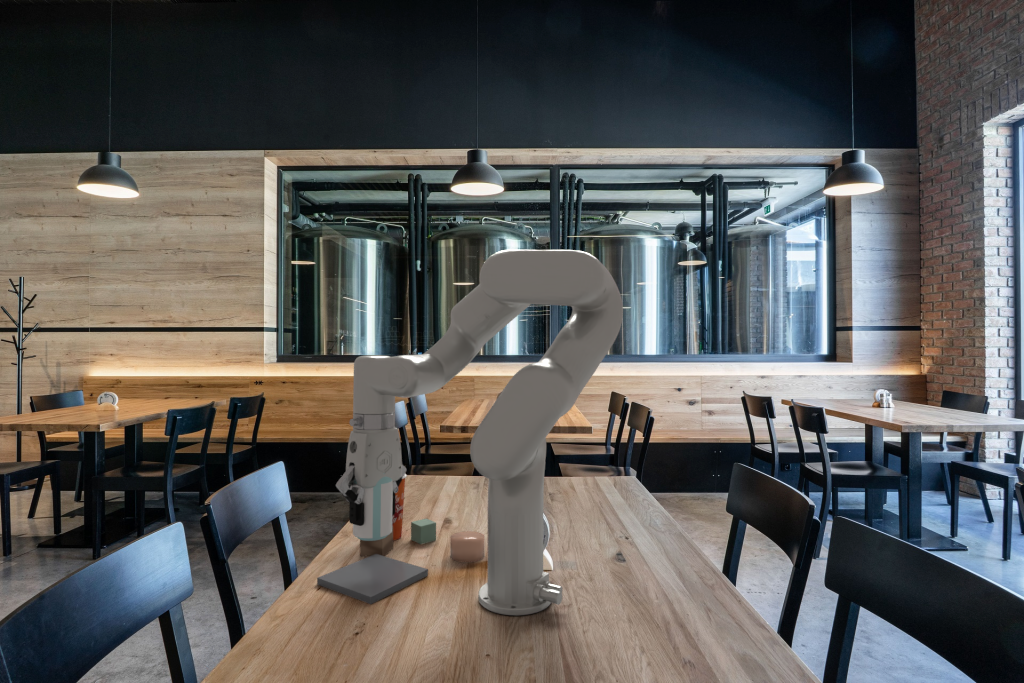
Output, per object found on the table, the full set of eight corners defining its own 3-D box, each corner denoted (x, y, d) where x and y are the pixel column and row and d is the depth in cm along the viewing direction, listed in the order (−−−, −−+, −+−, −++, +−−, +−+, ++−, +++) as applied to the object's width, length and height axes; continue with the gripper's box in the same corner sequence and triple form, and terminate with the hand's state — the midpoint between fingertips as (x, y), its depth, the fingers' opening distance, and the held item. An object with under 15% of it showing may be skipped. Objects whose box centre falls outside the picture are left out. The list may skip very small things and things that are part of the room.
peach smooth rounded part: (491, 554, 115) (491, 535, 115) (470, 565, 109) (470, 545, 109) (464, 547, 119) (464, 529, 119) (443, 558, 113) (443, 538, 113)
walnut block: (393, 549, 118) (393, 525, 118) (382, 558, 113) (382, 533, 113) (371, 547, 119) (371, 524, 119) (360, 556, 114) (360, 531, 114)
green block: (436, 540, 123) (436, 522, 123) (420, 544, 120) (420, 526, 120) (426, 536, 126) (426, 518, 126) (411, 539, 123) (411, 522, 123)
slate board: (427, 575, 104) (427, 569, 104) (370, 604, 92) (370, 597, 92) (375, 559, 112) (375, 553, 112) (317, 584, 100) (317, 577, 100)
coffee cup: (397, 544, 120) (398, 475, 120) (362, 541, 122) (363, 473, 122) (412, 532, 128) (412, 467, 129) (379, 529, 130) (379, 465, 130)
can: (350, 531, 104) (351, 468, 104) (388, 527, 107) (389, 465, 107) (355, 544, 97) (356, 476, 98) (395, 539, 100) (396, 473, 100)
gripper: (350, 429, 93) (348, 536, 93) (421, 419, 107) (420, 510, 107) (321, 425, 97) (320, 527, 97) (393, 415, 111) (392, 504, 111)
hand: (372, 518), depth 102 cm, fingers closed on can, 6 cm apart
